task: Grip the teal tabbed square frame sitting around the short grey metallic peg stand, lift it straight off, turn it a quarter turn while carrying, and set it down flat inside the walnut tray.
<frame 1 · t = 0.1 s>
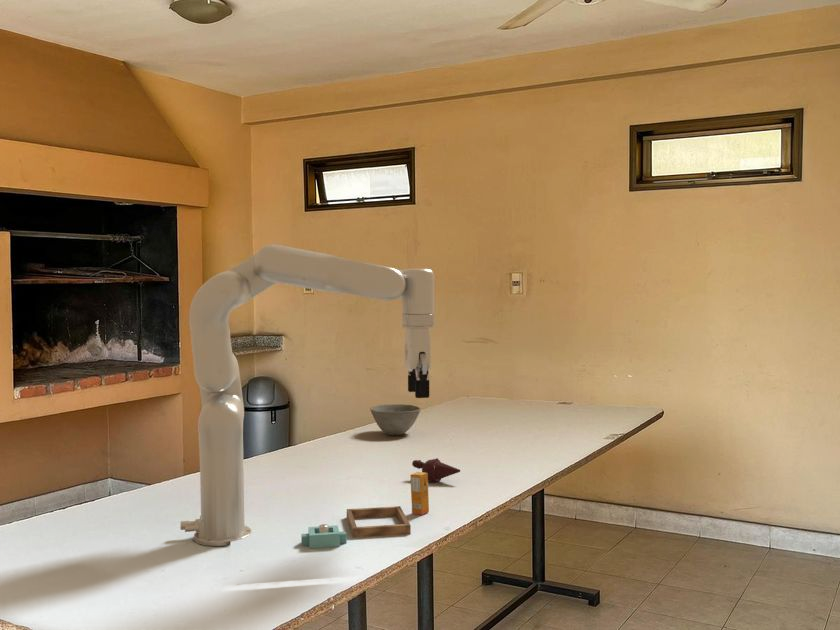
hand: (418, 394, 187), 31 cm above the table, fingers open, 9 cm apart
grey metallic peg stand: (324, 547, 174), on the table
tray: (377, 529, 186), on the table
supplement box: (419, 513, 199), on the table
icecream: (435, 482, 229), on the table
teal tabbed square frame: (324, 543, 173), point 1 cm above the table, touching grey metallic peg stand
bowl: (395, 434, 298), on the table
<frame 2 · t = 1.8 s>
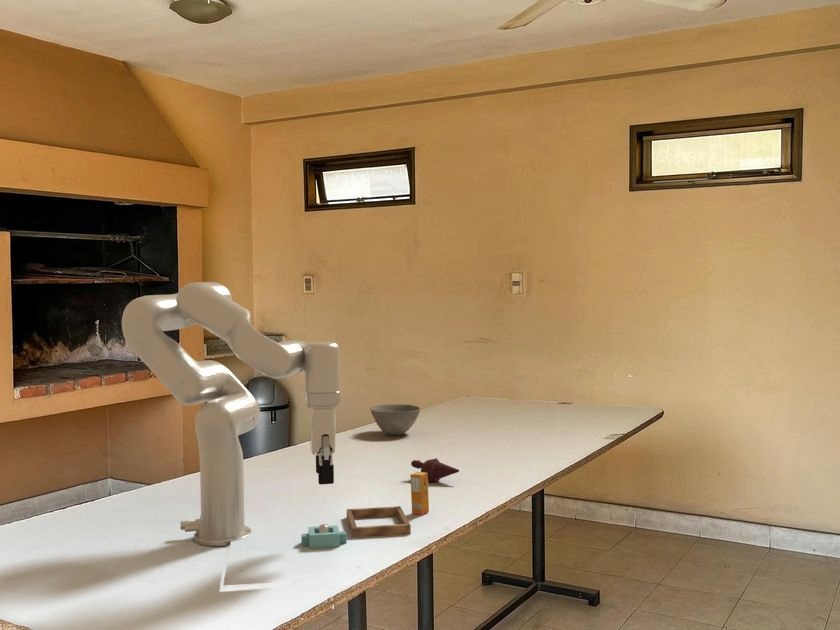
hand: (324, 478, 173), 15 cm above the table, fingers open, 9 cm apart
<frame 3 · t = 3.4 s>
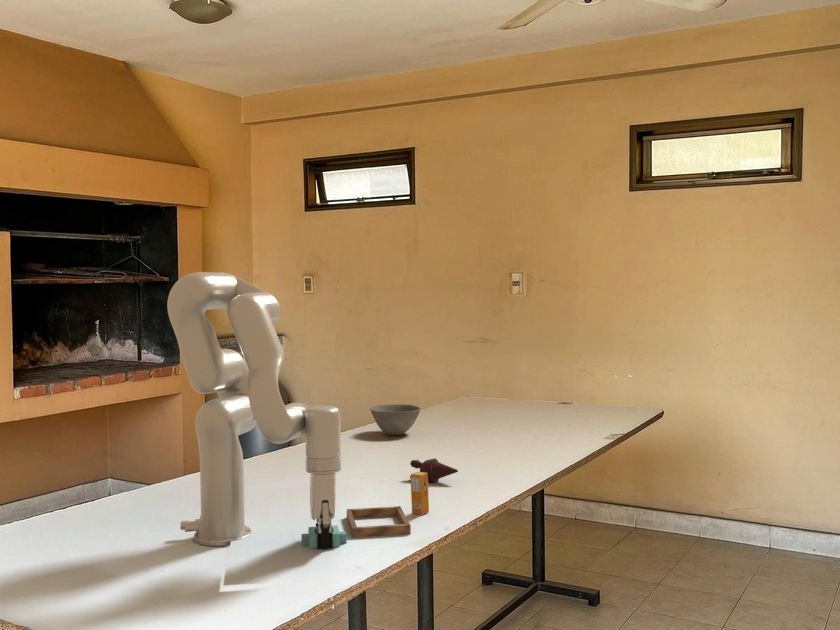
hand: (324, 545, 174), 1 cm above the table, fingers closed on teal tabbed square frame, 5 cm apart
teal tabbed square frame: (324, 543, 173), point 1 cm above the table, touching gripper, grey metallic peg stand
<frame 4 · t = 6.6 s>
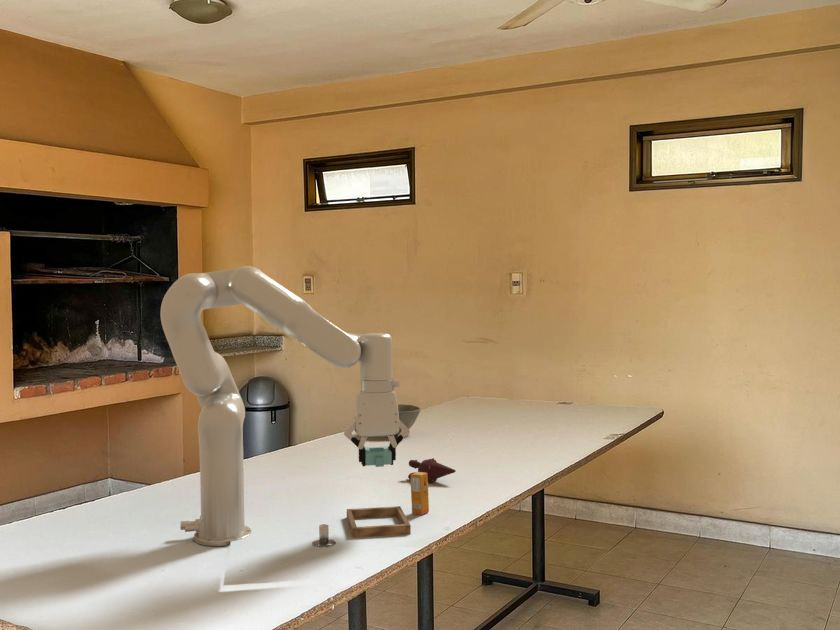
hand: (377, 463, 185), 16 cm above the table, fingers closed on teal tabbed square frame, 5 cm apart
teal tabbed square frame: (377, 461, 185), point 16 cm above the table, touching gripper
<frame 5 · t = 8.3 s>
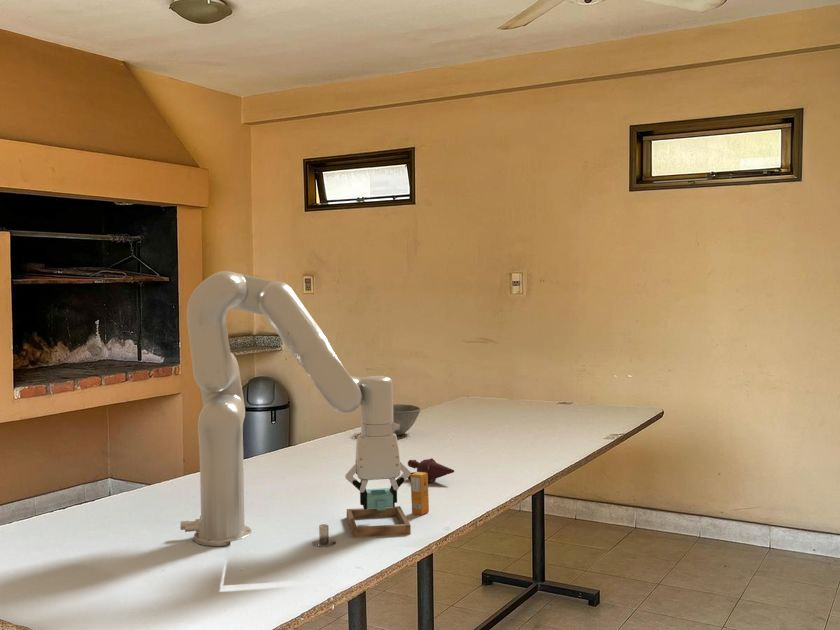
hand: (378, 506, 185), 6 cm above the table, fingers closed on teal tabbed square frame, 5 cm apart
teal tabbed square frame: (378, 504, 185), point 6 cm above the table, touching gripper
when the fingers open (2 cm above the table, at t = 9.4 s): teal tabbed square frame drops 2 cm, resting on tray.
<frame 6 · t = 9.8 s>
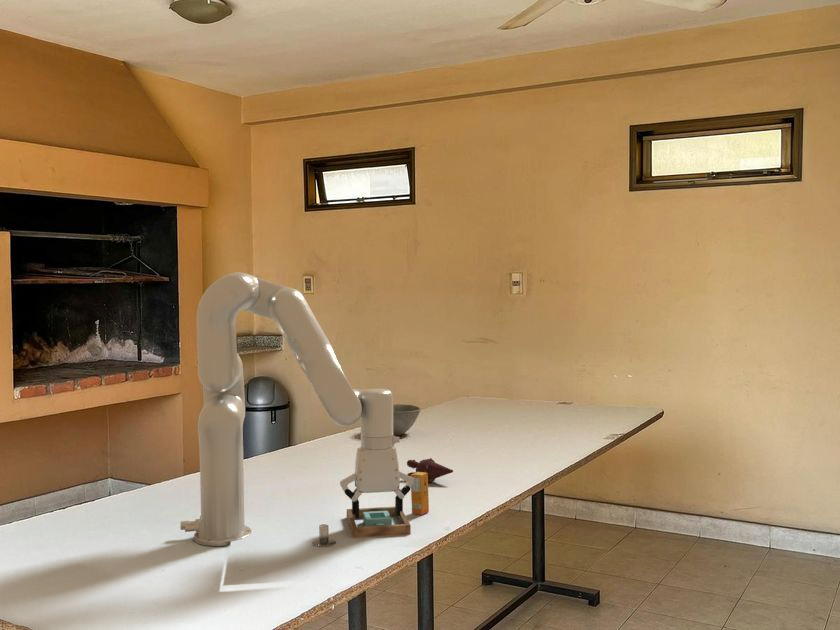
hand: (377, 515, 186), 3 cm above the table, fingers open, 9 cm apart
teal tabbed square frame: (377, 527, 186), point 1 cm above the table, touching tray
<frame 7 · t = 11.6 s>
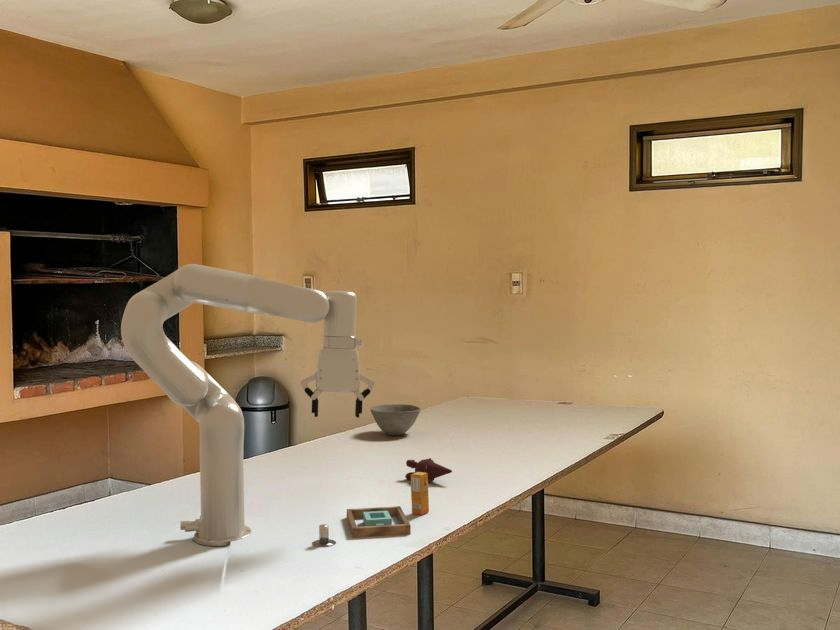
hand: (336, 416, 188), 26 cm above the table, fingers open, 9 cm apart
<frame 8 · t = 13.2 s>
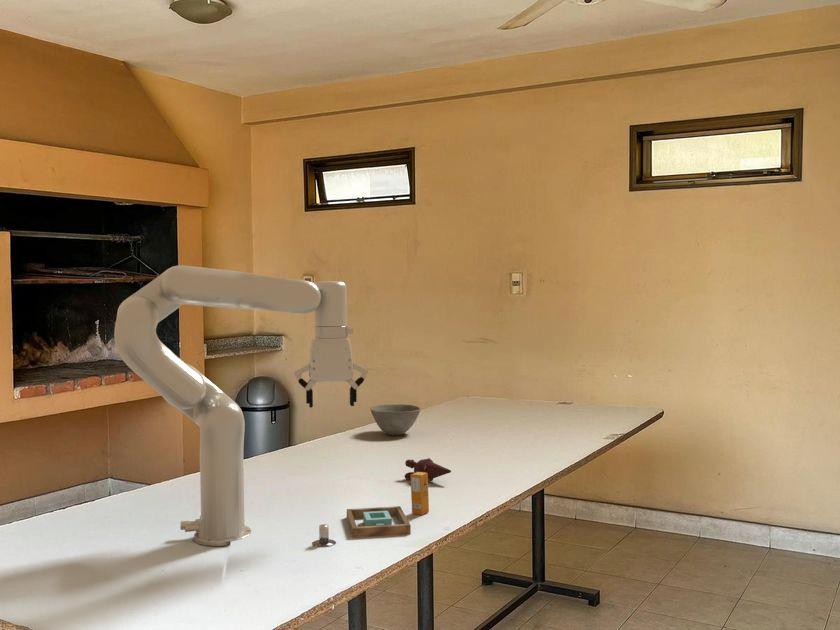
hand: (331, 405, 188), 28 cm above the table, fingers open, 9 cm apart
at the end: teal tabbed square frame inside the target area on the tray (0.1 cm from its centre), point 0.6 cm above the tray's base; teal tabbed square frame tilted 0°; the gripper is holding nothing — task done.
